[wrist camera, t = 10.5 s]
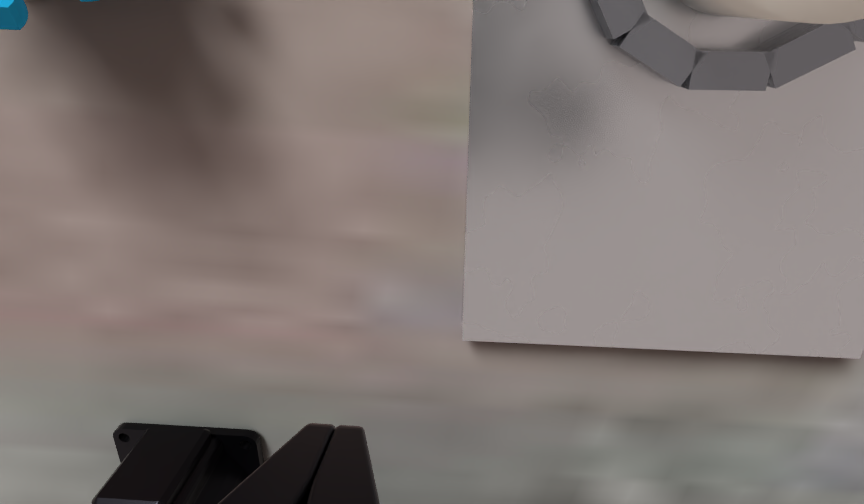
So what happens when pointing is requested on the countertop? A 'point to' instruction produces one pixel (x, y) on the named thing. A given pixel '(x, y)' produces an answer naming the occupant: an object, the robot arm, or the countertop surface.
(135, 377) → the countertop surface
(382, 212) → the countertop surface
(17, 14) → the gear
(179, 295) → the countertop surface
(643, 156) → the hub plate
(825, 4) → the knob
